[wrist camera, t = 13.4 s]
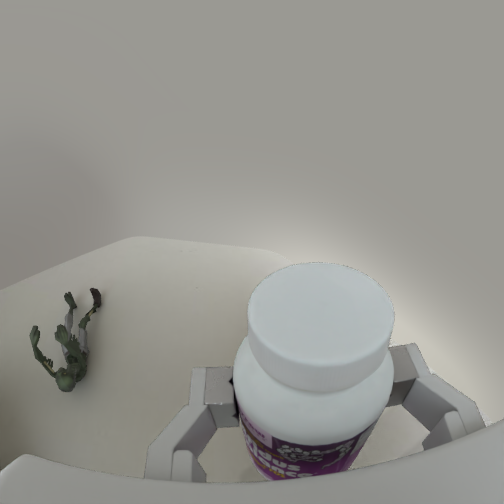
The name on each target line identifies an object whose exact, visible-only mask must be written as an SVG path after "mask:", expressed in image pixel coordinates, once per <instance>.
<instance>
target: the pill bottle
mask: <svg viewBox="0 0 504 504" xmlns="http://www.w3.org/2000/svg"><path fill="white" fill-rule="evenodd" d="M247 312H248V335H247V336H246V337H245V339H244V340H243V342H242V343H241V345H240V347H239V349H238V352H237V354H236V358H235V361H234V367H233V383H234V390H235V395H236V399H237V405H238V409H239V414H240V418H241V423H242V428H243V433H244V436H245V440H246V445H247V449H248V452H249V456H250V459H251V461H252V463H253V465H254V466H255V468H256V469H257V471H258V472H259V473H260V474H261V475H262V476H263V477H264V478H265V479H267V480H268V481H275V480H286V479H296V478H304V477H312V476H319V475H325V474H331V473H337V472H343V471H347V470H348V468H349V467H350V466H351V464H352V463H353V461H354V460H355V458H356V457H357V455H358V453H359V452H360V450H361V449H362V447H363V445H364V444H365V442H366V440H367V439H368V437H369V435H370V434H371V432H372V430H373V428H374V426H375V425H376V423H377V421H378V419H379V417H380V415H381V413H382V412H383V410H384V408H385V406H386V405H387V403H388V401H389V397H390V394H391V391H392V386H393V381H394V367H393V361H392V357H391V354H390V351H389V349H388V347H389V341H390V337H391V334H392V330H393V325H394V309H393V305H392V302H391V300H390V298H389V296H388V294H387V293H386V291H385V290H384V289H383V287H382V286H381V285H380V284H379V283H377V282H376V281H375V280H374V279H372V278H371V277H369V276H368V275H366V274H364V273H362V272H360V271H358V270H356V269H353V268H350V267H348V266H344V265H339V264H333V263H323V262H312V263H302V264H296V265H292V266H288V267H285V268H283V269H280V270H278V271H276V272H274V273H272V274H271V275H269V276H268V277H266V278H265V279H264V280H263V281H262V282H260V283H259V284H258V285H257V287H256V288H255V289H254V291H253V293H252V295H251V297H250V300H249V304H248V311H247Z"/></svg>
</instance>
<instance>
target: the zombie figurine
mask: <svg viewBox="0 0 504 504" xmlns="http://www.w3.org/2000/svg"><path fill="white" fill-rule="evenodd" d="M90 291H91V293H92V296H93V299H94V304H93V306H94V307H93V308H92V309H91V310H90V311H89V312H88V313H87V314H86V315H85V317H84V318H82V320H81V321H80V323H79V328H80V329H79V340H77V338H76V339H75V335H73V337H72V333H71V328H72V325H73V309H74V308H76V307H77V306H76V304H75V302H74V299H73V297H72V294H71V292H68V294H67V293H65V295H64V298H65V301H66V302H67V303H68V304H69V306H70V310H69V312H68V314H67V315H66V316H65V324H64V326H63V325H61V324H60V325H58V326H57V331H56V332H55V340H57V341H58V342H60V343H61V346H62V350H63V353H64V356H65V359H66V362H67V364H68V365H67V369H65V368H62V367H60V368H59V370H58V371H57V372H54V370H53V369H52V367H53V361H52V362H51V359H48V360H47V359H46V356H43V354H42V352H41V351H40V350H39V349H38V347H37V343H38V341H39V338H40V331H39V330H38V326H33V328H32V330H31V333H30V335H29V336H30V339H31V343H32V347H33V351H34V355H35V359H37V360H38V361H39V362H40V363H41V364H42V365H43V366H44V368H45V369H46V370H47V371H48V373H49V374H50V375H51V376H52V377H54V378H55V379H56V383H57V385H58V386H59V389H60V390H61V391H64V392H71V391H72V390H73V389H74V387H75V385H76V383H75V382H78V381H80V380H81V379H82V378H83V376H84V375H85V372H86V367H87V365H86V363H85V360H86V356H87V354H88V353H89V350H88V347H87V340H86V336H87V331H85V328H86V325H87V322H88V321H90V316H91V314H93V313H95V312H96V308H98V307H100V303H101V294H100V292H99V291H98V289H95V288H91V289H90ZM72 338H73V341H72V340H71V339H72ZM48 361H49V363H48ZM50 362H51V364H50ZM47 363H48V364H47Z"/></svg>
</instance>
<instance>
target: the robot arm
mask: <svg viewBox="0 0 504 504" xmlns="http://www.w3.org/2000/svg"><path fill="white" fill-rule="evenodd" d="M388 349H389V351H390V354H391V357H392V361H393V367H394V381H393V386H392V391H391V394H390V397H389V401H388V403H387V405H386V406H385V407H390V406H395V405H399V404H402V406H403V407H404V408H406V409H407V410H408V411H409V412H410V413H411V414H412V415H413V416H414V417H415V418H416V419H417V420H418V421H419V422H420V423H422V424H423V425H424V426H425V427H426V428H427V429H428V430H429V431H430V433H429V435H428V436H427V437H426V438H425V439H424V441H423V442H422V445H423V448H424V451H422V452H419V453H416V454H413V455H409V456H406V457H402V458H399V459H395V460H392V461H388V462H384V463H380V464H376V465H371V466H367V467H363V468H358V469H353V470H348V471H343V472H337V473H331V474H325V475H319V476H312V477H304V478H296V479H286V480H275V481H261V482H240V483H206V473H205V472H204V470H203V469H202V467H201V466H200V464H199V462H198V461H197V458H198V457H199V455H200V454H201V452H202V451H203V449H204V448H205V446H206V445H207V443H208V442H209V440H210V439H211V437H212V436H213V434H214V433H215V431H216V430H217V428H223V427H239V409H238V405H237V399H236V395H235V390H234V383H233V367H234V366H232V367H194V368H193V370H192V377H191V386H190V396H189V405H184V407H183V408H182V409H181V410H180V411H179V412H178V414H177V415H176V416H175V417H174V418H173V419H172V421H171V422H170V423H169V424H168V425H167V426H166V427H165V429H164V430H163V431H162V432H161V433H160V434H159V435H158V437H157V438H156V439H155V440H154V441H153V442H152V443H151V444H150V446H149V447H148V452H147V459H146V466H145V474H144V478H136V477H129V476H122V475H115V474H109V473H104V472H98V471H93V470H88V469H83V468H79V467H74V466H70V465H66V464H62V463H58V462H54V461H51V460H47V459H44V458H40V457H37V456H34V455H30V454H23V455H21V456H19V457H18V458H16V459H15V460H14V461H12V462H11V463H10V464H9V465H7V466H6V467H5V468H4V469H3V470H2V471H1V472H0V504H504V419H502V420H500V421H498V422H496V423H494V424H492V425H490V426H487V427H486V426H485V424H484V421H483V419H482V417H481V415H480V412H479V410H478V408H477V406H476V403H475V402H474V401H473V400H471V399H470V398H468V397H467V396H465V395H464V394H463V393H461V392H460V391H458V390H457V389H455V388H454V387H452V386H451V385H450V384H448V383H447V382H445V381H444V380H442V379H441V378H439V377H438V376H437V375H435V374H431V373H430V371H429V369H428V367H427V365H426V363H425V361H424V359H423V357H422V354H421V352H420V350H419V348H418V346H417V345H416V344H415V343H411V344H407V345H400V346H395V347H390V348H388Z"/></svg>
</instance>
